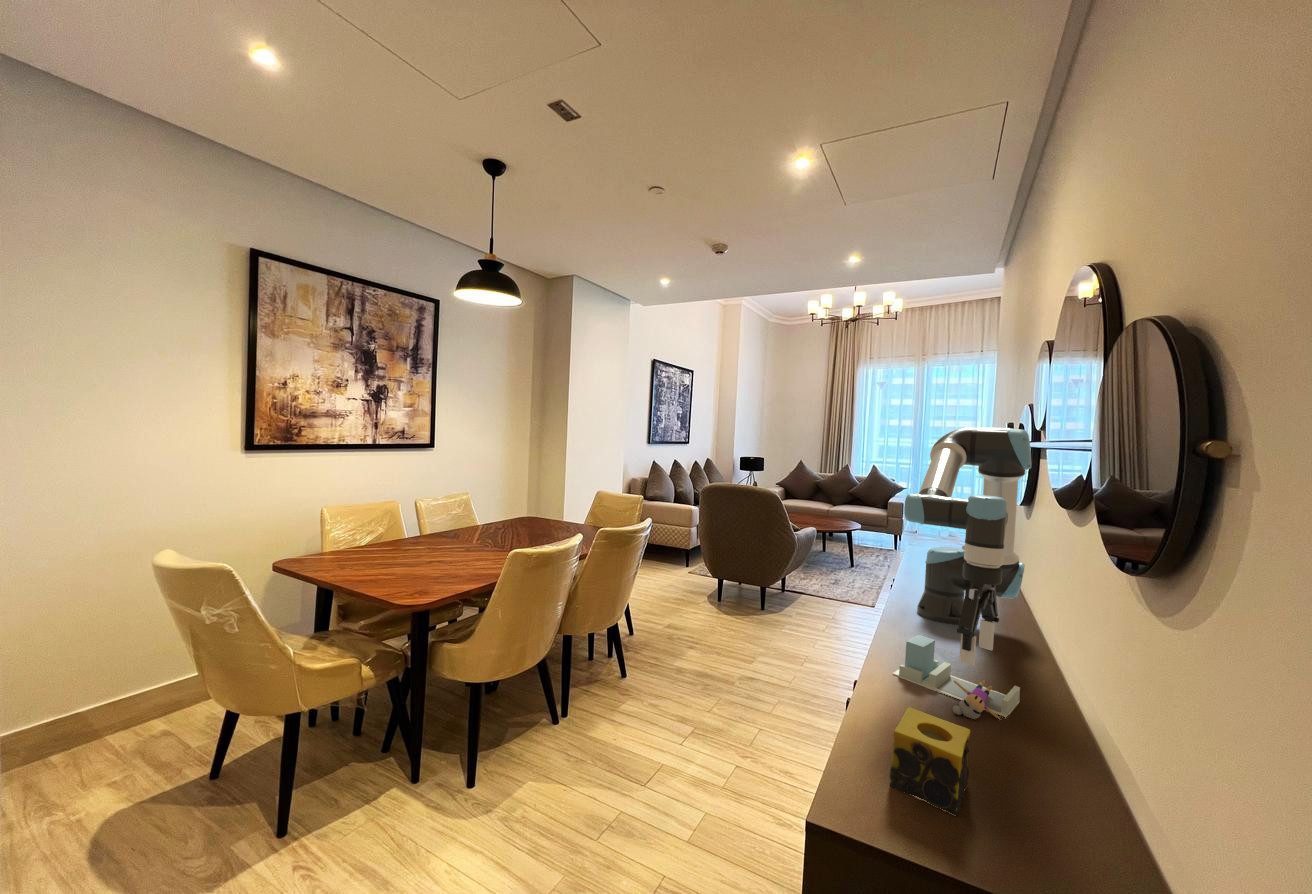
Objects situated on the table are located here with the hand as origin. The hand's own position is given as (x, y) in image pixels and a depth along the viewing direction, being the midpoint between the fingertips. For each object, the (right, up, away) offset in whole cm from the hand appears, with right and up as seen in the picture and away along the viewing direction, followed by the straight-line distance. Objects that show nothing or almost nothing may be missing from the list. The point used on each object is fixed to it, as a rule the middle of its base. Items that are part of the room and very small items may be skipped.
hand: (976, 656), depth 115 cm
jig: (-3, -9, +3) cm, 10 cm away
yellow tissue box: (-28, -9, -31) cm, 43 cm away
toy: (+2, -8, +1) cm, 8 cm away
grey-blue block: (-8, -8, +9) cm, 15 cm away
